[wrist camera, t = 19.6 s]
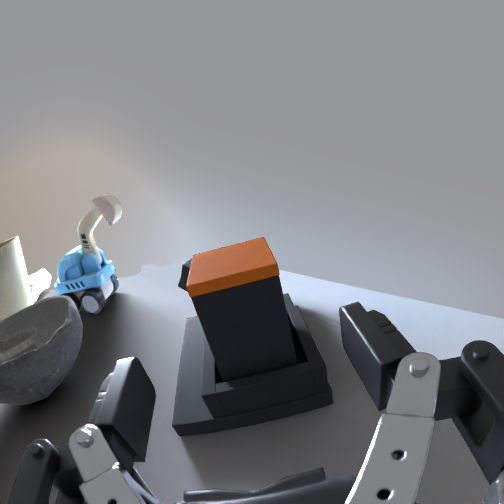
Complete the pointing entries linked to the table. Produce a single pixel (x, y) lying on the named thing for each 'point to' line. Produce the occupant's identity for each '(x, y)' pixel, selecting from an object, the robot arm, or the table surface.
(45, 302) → the bowl
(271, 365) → the black and orange block
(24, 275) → the plant pot
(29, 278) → the stone
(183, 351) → the dark square socket base
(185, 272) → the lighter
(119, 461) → the robot arm
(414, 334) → the table surface
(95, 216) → the toy excavator
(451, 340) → the table surface
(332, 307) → the table surface
